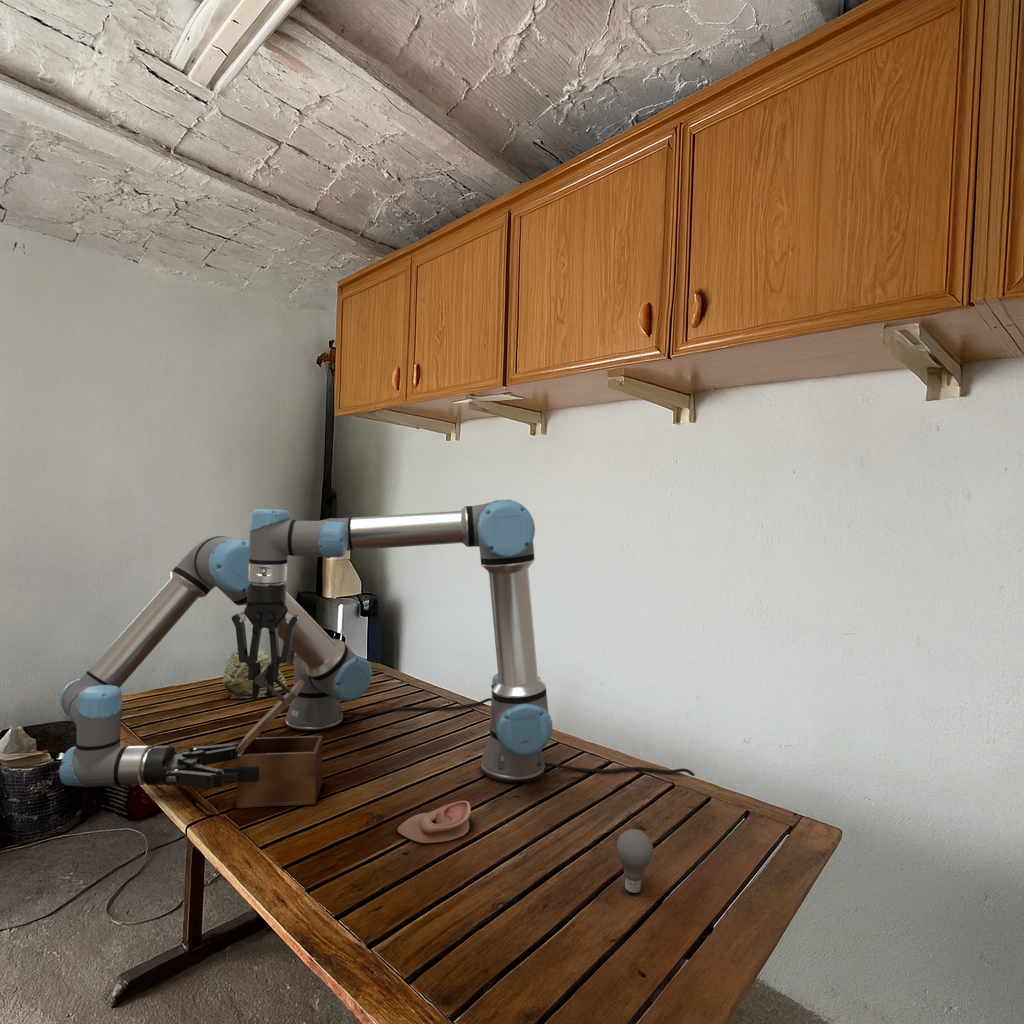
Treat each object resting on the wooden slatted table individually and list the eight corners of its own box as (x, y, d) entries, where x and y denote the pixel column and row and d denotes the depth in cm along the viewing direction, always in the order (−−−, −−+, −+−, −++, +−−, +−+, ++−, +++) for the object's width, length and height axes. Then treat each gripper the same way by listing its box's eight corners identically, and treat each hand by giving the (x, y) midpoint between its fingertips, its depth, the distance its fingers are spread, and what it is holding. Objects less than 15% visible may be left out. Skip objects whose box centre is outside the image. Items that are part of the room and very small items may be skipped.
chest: (321, 783, 139) (322, 735, 139) (315, 804, 130) (316, 752, 130) (248, 786, 137) (249, 737, 137) (236, 808, 127) (237, 755, 127)
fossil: (218, 695, 195) (220, 647, 195) (278, 685, 208) (279, 640, 207) (228, 703, 189) (230, 653, 188) (289, 692, 201) (290, 645, 201)
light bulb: (610, 879, 108) (613, 822, 108) (644, 879, 109) (647, 822, 109) (619, 902, 102) (622, 840, 102) (655, 901, 103) (658, 840, 103)
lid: (305, 682, 138) (275, 655, 137) (296, 696, 129) (265, 667, 128) (251, 736, 137) (221, 710, 136) (239, 754, 127) (206, 726, 126)
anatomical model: (391, 817, 118) (413, 790, 130) (390, 838, 118) (412, 809, 130) (459, 827, 116) (476, 799, 127) (459, 849, 116) (475, 819, 127)
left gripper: (169, 761, 140) (275, 759, 144) (123, 810, 118) (249, 806, 122) (170, 727, 140) (276, 726, 143) (125, 770, 118) (251, 768, 122)
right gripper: (223, 584, 127) (218, 701, 127) (301, 586, 129) (297, 701, 130) (234, 579, 134) (229, 690, 135) (308, 581, 137) (303, 690, 137)
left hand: (263, 763), depth 133 cm, fingers closed on chest, 9 cm apart
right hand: (262, 695), depth 132 cm, fingers closed on lid, 2 cm apart
